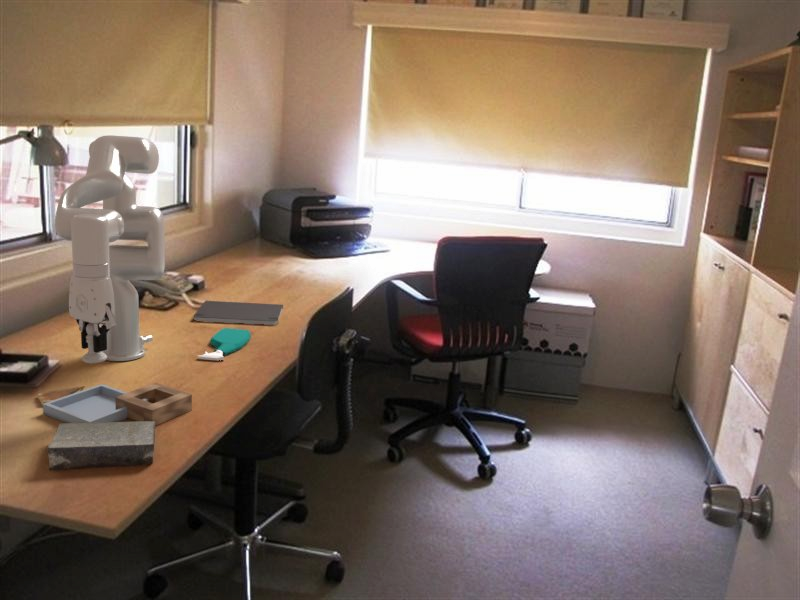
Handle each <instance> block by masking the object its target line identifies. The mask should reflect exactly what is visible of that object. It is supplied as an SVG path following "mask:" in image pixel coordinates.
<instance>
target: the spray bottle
mask: <svg viewBox="0 0 800 600" xmlns="http://www.w3.org/2000/svg"><path fill="white" fill-rule="evenodd" d="M251 337H252V333H251V332H250V331H249V329H242V328H231V327H230V328H228V327H223V328H222V329H220V330H219V331H217V332H216V333H214V335H213V336H212V337H211V338H210V340H209V342H210V345H211V346H212V345H213V346H212V347H214V348H215V349H214V350H213V351H212V352H208V351H204V353H203V354H201V355H200V354H197V359H199V360H204V361H205V360H206V361H216V362H217V361H219V360H220V361H221V360H224V361H225V356H227V354H228V355H230V354H232V352H233V353H235V352H237V351H236V350H238V351H239V350H242V347H243V346H244V347H245V346H246V345H247V344H248V343H249V341H250V340H251ZM247 342H248V343H247ZM216 347H217V348H216ZM244 347H243V348H244ZM234 351H235V352H234ZM229 353H230V354H229ZM223 355H225V356H223ZM220 361H219V362H220Z"/></svg>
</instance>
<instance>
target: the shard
mask: <svg viewBox="0 0 800 600" xmlns="http://www.w3.org/2000/svg"><path fill="white" fill-rule="evenodd" d="M85 387H86V386H85V385H84V386H83V385H82V386H76V387H71V388H62V389H61V388H60V389H56V390H49V391H43V392H40V393H38V394H37V399H38V400H39V401H40V404H41V406H42V407H43V404H44V403H47V402H50V401H53V400H56V399H59V398H62V397H65V396H67V395H70V394H73V393H76V392H79V391H82V390H84V388H85ZM85 389H86V388H85Z"/></svg>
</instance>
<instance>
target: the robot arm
mask: <svg viewBox="0 0 800 600" xmlns="http://www.w3.org/2000/svg"><path fill="white" fill-rule="evenodd" d="M88 154H89V159H88V163H87V169H86V173H85V175H84V176H82V177H80V178H79V179H77V180H75V181H74V182H73V183H72V184H70V185H69V186H68V187H66V189H65V190H64V191H62V193H61V195H60V197H59V199H58V203H57V208H56V212H55V218H54V230H55V233H56V235H57V236H58V237H59V238H60V239H62V240H65V241H67V242H71V252H72V253H71V254H72V274H71V276H70V282H69V291H68V293H69V294H68V311H69V316H71V318H73V319H74V320H75V322H76V323H77V325H78V331H80V338H81V341H80V343H81V349H83V350H86V349H88V343H87V342H86V340H87V339H86V336H87V335H88V334H87V332H86V326H87V325H88V324H89V323H92V324H94V330H95V335H94V336H93V349H94V352H95V353H98V352H101V351H102V352H103V353H104V354H106V355H107V359H106V360H105V361H109V362H110V361H111V362H128V361H133V360H136V359H139V358H142V357H143V356H145V354H146V348H145V347H144V344H148V343H151V342H152V341H153V339H154V338H153V336H152V335H150V334H149V335H145V336H144V337H143V335H140V311H139V309H140V307H139V306H140V305H139V304H140V303H139V301H140V300H139V299H140V298H139V294H138V291H137V289H136V288H135V286H134V285H133V284H132V282H130V281H143V280H144V281H155V280H160V279H161V278H162V277H163V276H164V274H165V269H166V268H165V267H166V265H165V264H166V263H165V262H166V259H165V255H166V254H165V251H166V249H165V246H166V243H165V234H166V232H165V230H166V229H165V218H164V215H163V212H162V210H161V209H159V208H157V207H155V206H143V205H137V195H136V194H137V189H136V188H137V187H136V186H135V184H134V183H133V181H132V179H131V178H130V177H129V176H128V175H127V174H129V173H131V174H149V175H150V174H153V173H155V172H156V171H157V169H158V166H159V162H160V161H159V160H160V157H159V156H160V155H159V150H158V147H157V145H156V144H155V143H154V142H153V141H152V140H150V139H148V138H145V137H139V136H125V135H101V136H99V137H97V138H95V140H93V141H92V142H91V143H90V144H89V146H88ZM101 201H102V208H95V207H94V208H91V207H90V208H88V207H84V206H87V205H90V204H95V203H98V202H101ZM116 241H139V242H140V241H143V242H146V244H147V245H132V244H111V245H110V243H113V242H116ZM99 324H100V325H101V327H100V326H99Z"/></svg>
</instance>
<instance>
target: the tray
mask: <svg viewBox="0 0 800 600" xmlns="http://www.w3.org/2000/svg"><path fill="white" fill-rule="evenodd" d="M126 393H128V392H127V391H124V390H120V389H118V388H115V387H112V386H110V385H107V384H104V383H100V384H98V385H97V384H96V385H94V386H91V387H88V388H85V389H83V390H82V391H79V392H76V393H73V394H70V395H67V396H65V397H62V398H59V399H56V400H53V401H50V402H47V403H44V404H43V406H42V411H43V412H42V414H43V415H45V416H47V417H49V418H53V419H55V420H57V421H60V422H63V423H96V422H122V421H125V420H126V419H129V418H128V408H127V407H122V408H120V409H117V410H116V404H115V397H118V396H120V395H123V394H126ZM142 400H144V401H147V402H148V400H147V399H142Z"/></svg>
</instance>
